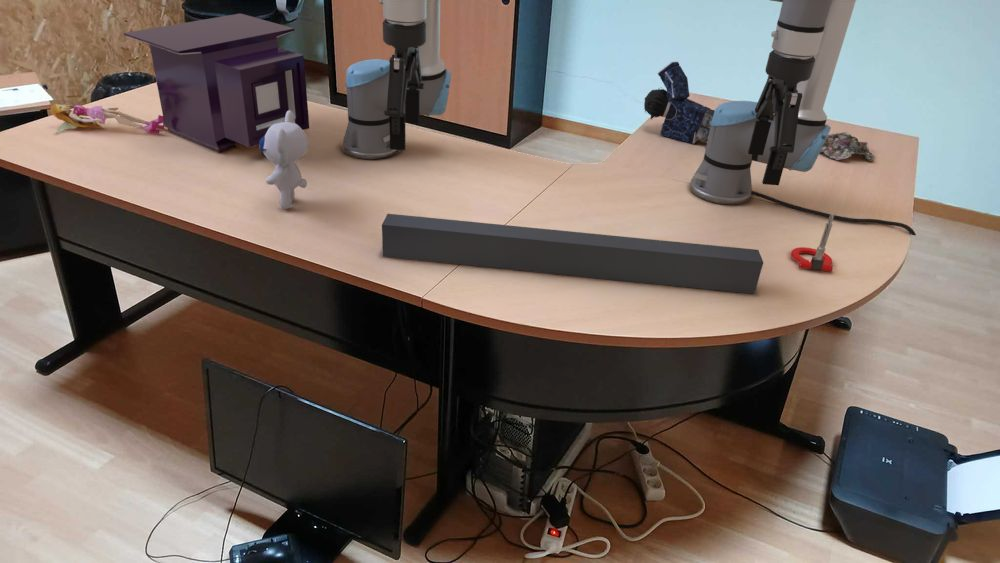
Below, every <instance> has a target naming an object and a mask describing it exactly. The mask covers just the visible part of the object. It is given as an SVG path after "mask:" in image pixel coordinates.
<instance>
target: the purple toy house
mask: <svg viewBox="0 0 1000 563" xmlns="http://www.w3.org/2000/svg"><path fill="white" fill-rule="evenodd" d="M294 31H295V28H294V27H292V26H287V25H283V24H279V23H276V22H272V21H269V20H264V19H262V18H259V17H256V16H255V17H254V16H252V15H247V14H244V13H235V14H230V15H224V16H217V17H212V18H205V19H200V20H194V21H188V22H181V23H175V24H169V25H163V26H157V27H151V28H146V29H145V28H144V29H139V30H134V31H128V32H123V36H125V37H127V38H130V39H133V40H136V41H138V42H142V43H145V44H148V45H149V50H150V54H151V60H152V66H153V71H154V75H155V76H154V77H155V82H156V87H157V92H158V97H159V102H160V107H161V113H162V116H163V119H164V122H163V123H162V125H163V126H164V128H166V129H167V131H168V132H170V133H172V134H175V135H177V136H179V137H182V138H184V139H187V140H189V141H191V142H193V143H196V144H197V145H200V146H203V147H205V148H207V149H209V150H212V151H215V152H217V153H219V154H220V153H224V152H227V151H229V150H233V149H235V148H237V144H240V145H242V146H245V147H247V148H249V149H250V148H253V147H256V146H259V142H260V139H261V138H262V137H264V136H265V135H266V133H267V131H268V129H269V128H270V127H271V126H272V125H274V124H276V123H281V122H285V116H286V113H287V111H289V110H291V111H292V112H293V114H294V118H295V124H297V125H298V126H299V127H300V128H301V129H302V130H303V131H305V130H308V129H310V118H309V105H308V94H307V93H308V92H307V80H306V79H307V78H306V68H305V56H304V54H303V53H302V54H301V53H297V52H296V51H295V52H294V51H291V50H288V49H285V48H282V47H279V44H278V40H277V38H280V37H282V36H286V35H287V34H291V33H292V32H294Z"/></svg>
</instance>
